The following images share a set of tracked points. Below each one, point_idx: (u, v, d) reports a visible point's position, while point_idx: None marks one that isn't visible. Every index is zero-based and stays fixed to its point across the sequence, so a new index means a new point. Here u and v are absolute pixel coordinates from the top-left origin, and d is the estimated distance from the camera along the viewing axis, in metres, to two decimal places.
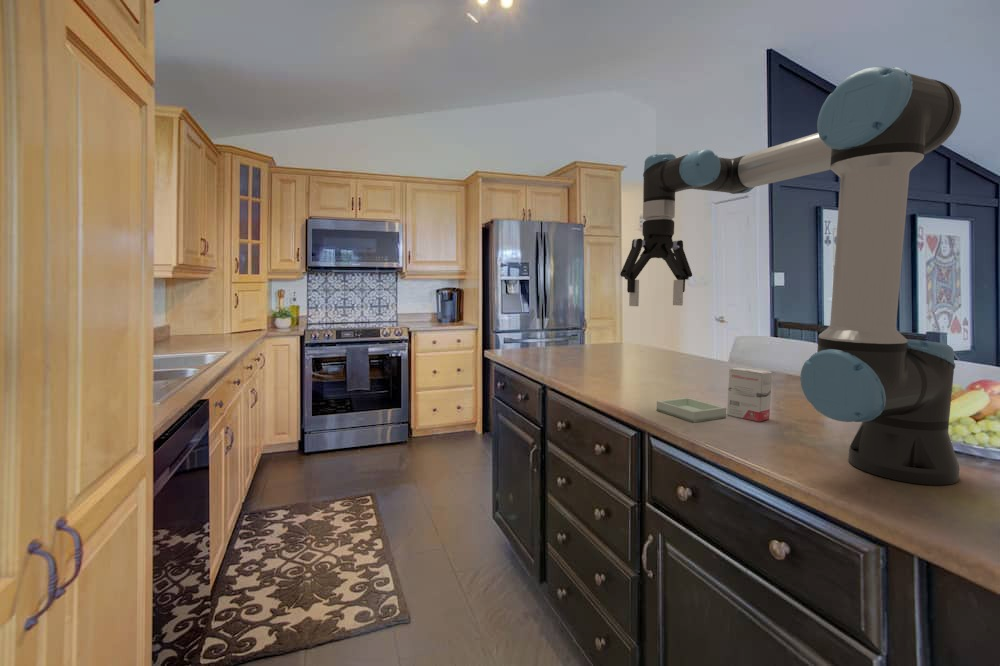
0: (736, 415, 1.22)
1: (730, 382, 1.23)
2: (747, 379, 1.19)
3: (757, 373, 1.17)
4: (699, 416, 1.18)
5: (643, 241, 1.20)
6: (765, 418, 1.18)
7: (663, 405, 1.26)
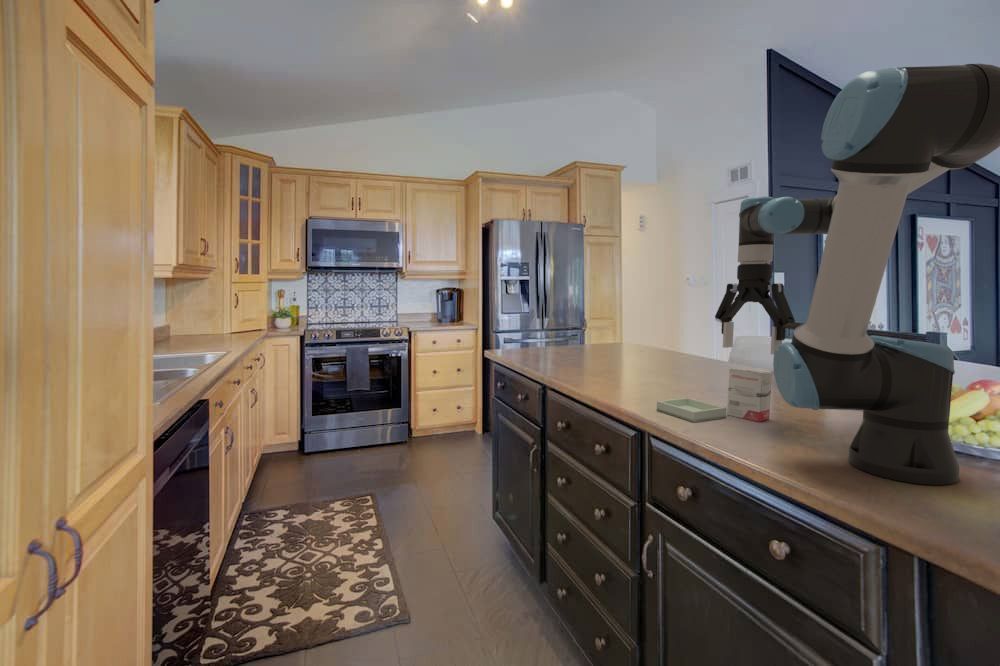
0: (736, 415, 1.22)
1: (730, 382, 1.23)
2: (747, 379, 1.19)
3: (757, 373, 1.17)
4: (699, 416, 1.18)
5: (735, 286, 1.23)
6: (765, 418, 1.18)
7: (663, 405, 1.26)
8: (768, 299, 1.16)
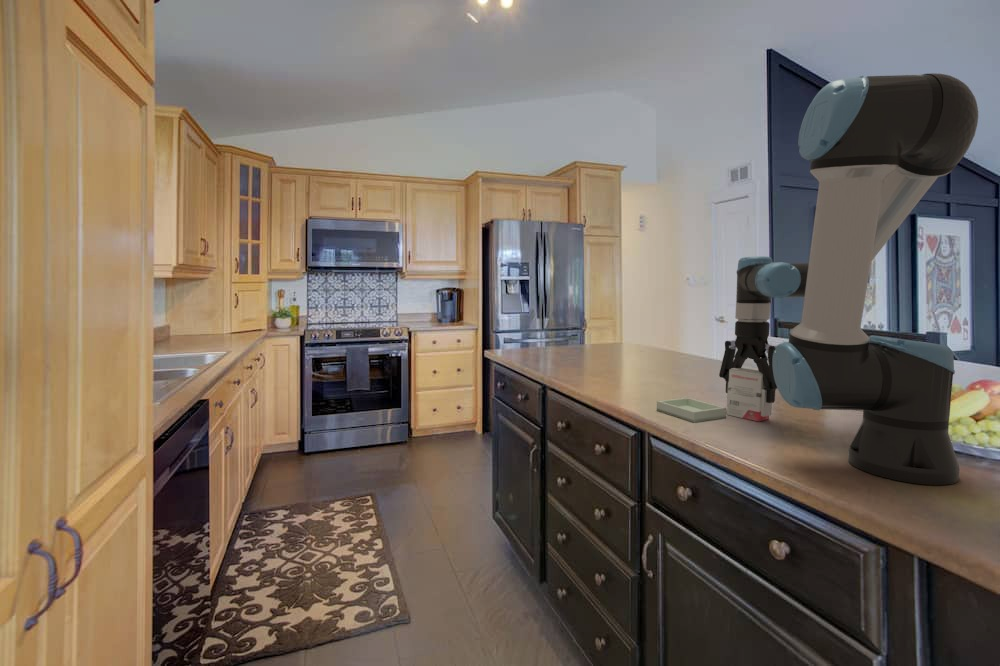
0: (736, 415, 1.22)
1: (730, 382, 1.23)
2: (746, 379, 1.20)
3: (757, 373, 1.17)
4: (699, 416, 1.18)
5: (733, 342, 1.25)
6: (765, 418, 1.18)
7: (663, 405, 1.26)
8: (763, 359, 1.18)
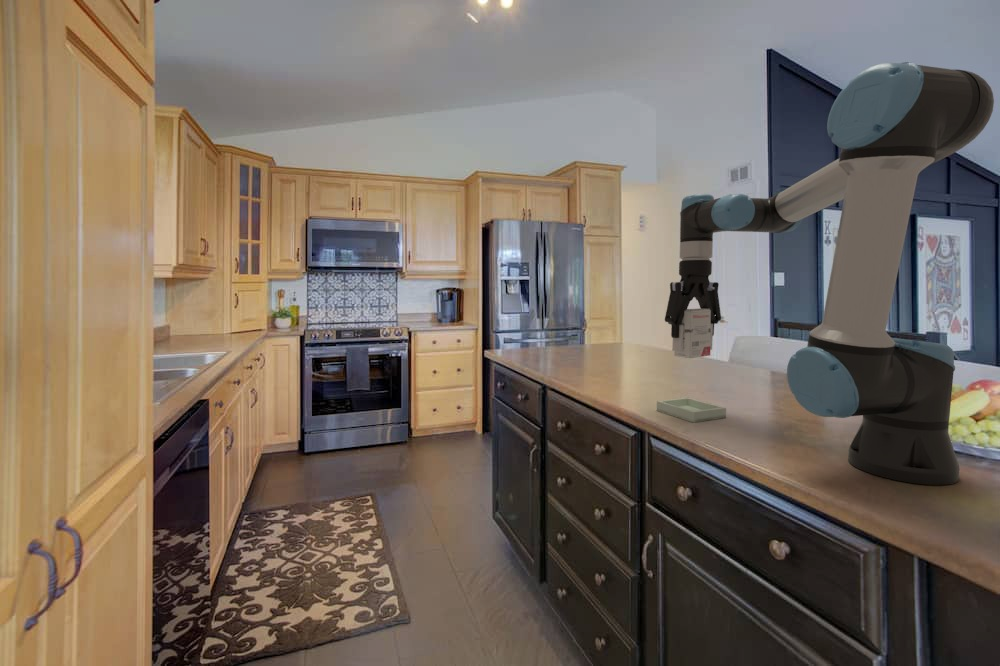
0: (696, 355, 1.21)
1: (691, 323, 1.19)
2: (702, 317, 1.21)
3: (708, 309, 1.22)
4: (699, 416, 1.18)
5: (681, 283, 1.19)
6: None
7: (663, 405, 1.26)
8: None
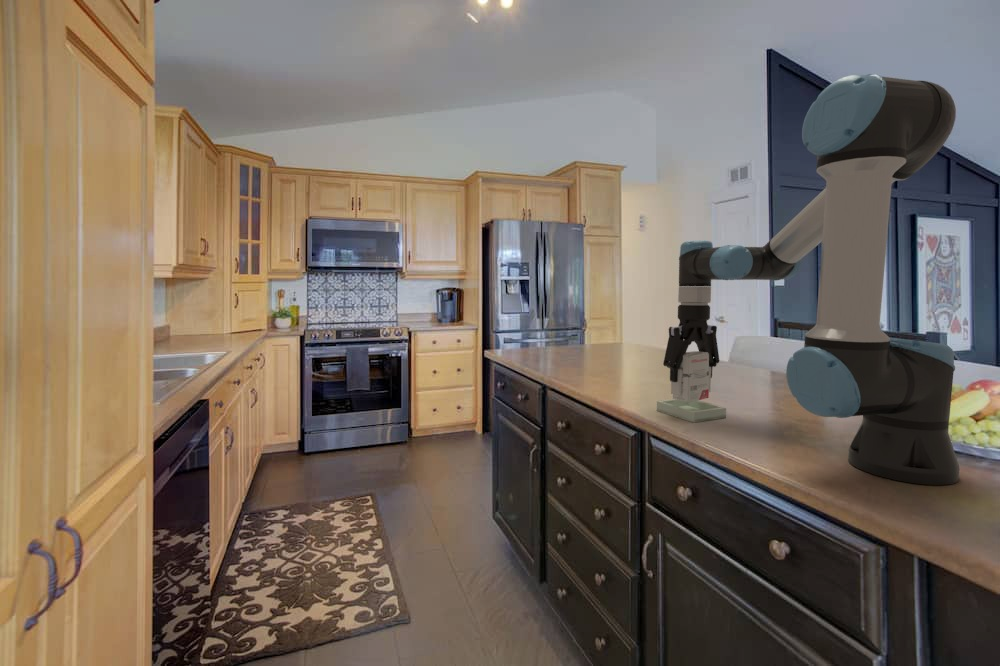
0: (695, 399, 1.22)
1: (690, 368, 1.20)
2: (700, 361, 1.22)
3: (706, 353, 1.23)
4: (699, 416, 1.18)
5: (680, 328, 1.20)
6: None
7: (663, 405, 1.26)
8: None
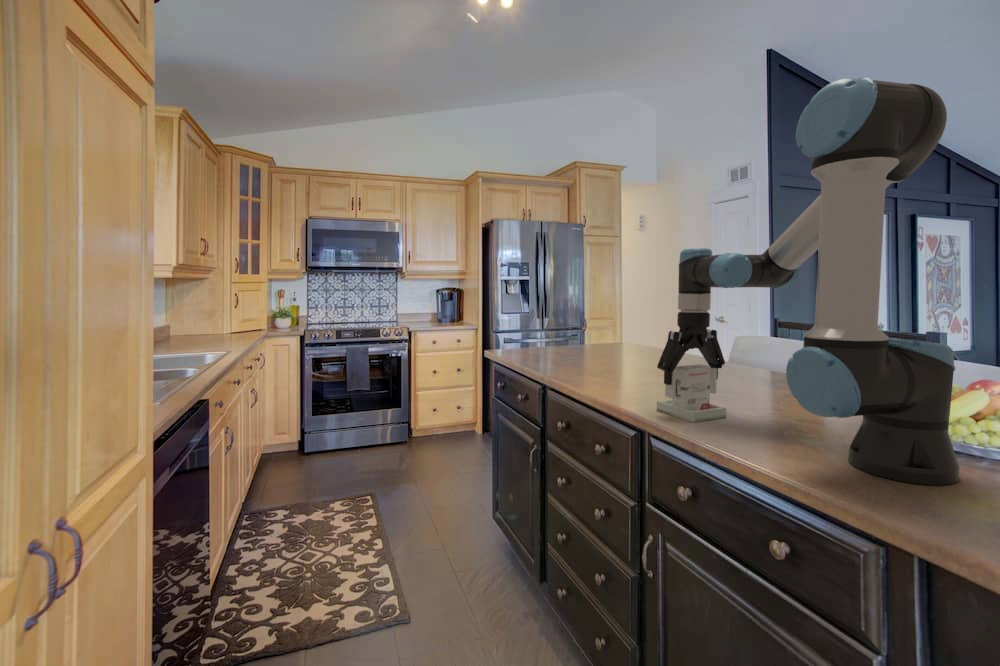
0: None
1: (687, 382, 1.20)
2: (700, 374, 1.22)
3: (706, 367, 1.23)
4: (699, 416, 1.18)
5: (680, 333, 1.21)
6: None
7: (663, 405, 1.26)
8: None
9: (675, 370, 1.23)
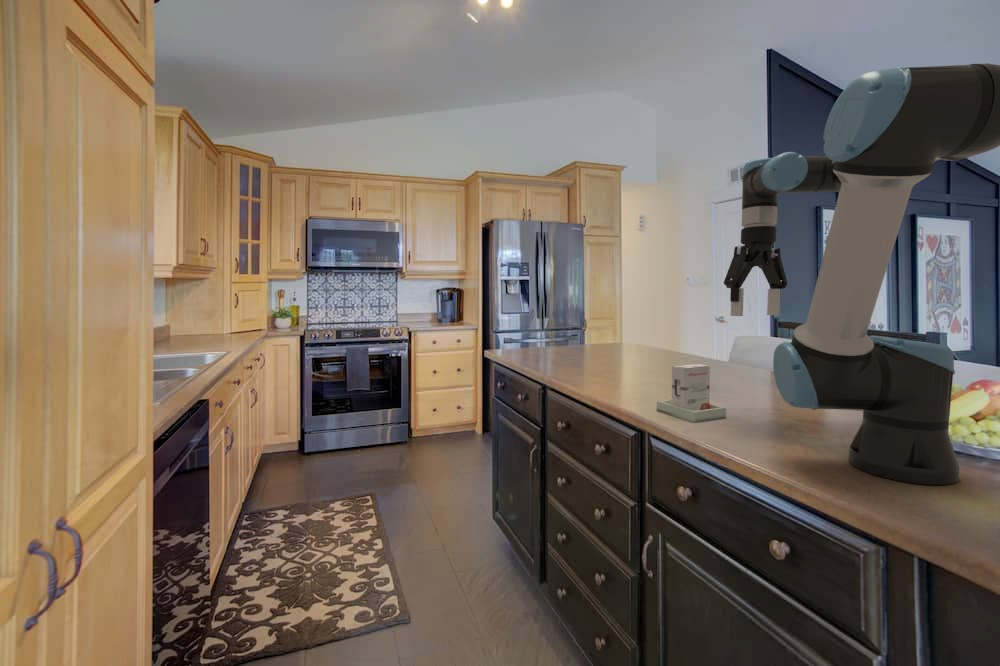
0: None
1: (687, 381, 1.20)
2: (699, 374, 1.22)
3: (706, 366, 1.23)
4: (699, 416, 1.18)
5: (746, 248, 1.15)
6: None
7: (663, 405, 1.26)
8: None
9: (675, 370, 1.23)
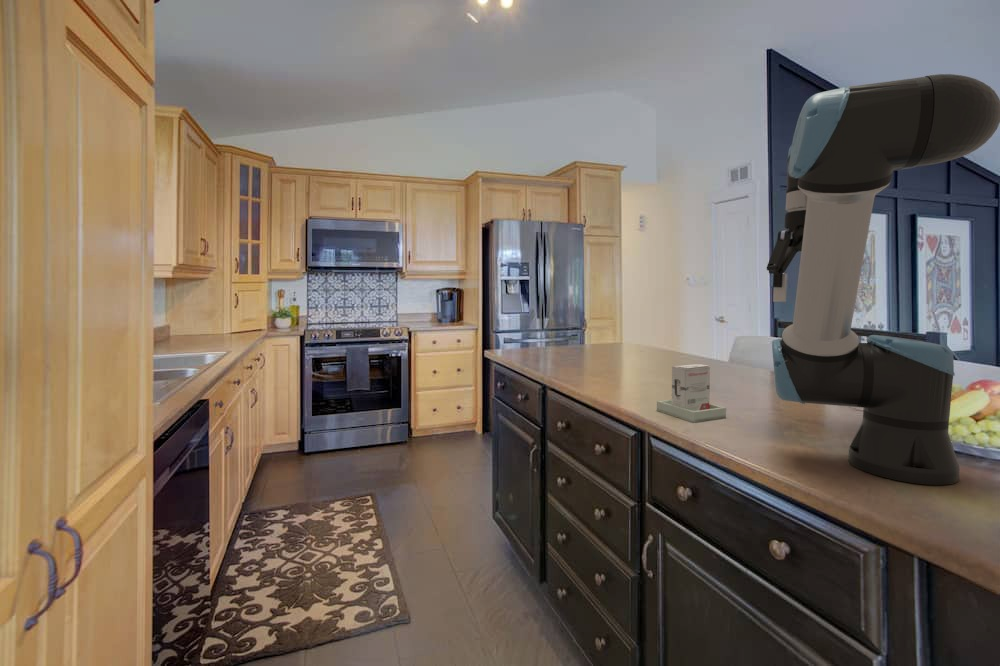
0: None
1: (687, 381, 1.20)
2: (699, 374, 1.22)
3: (706, 366, 1.23)
4: (699, 416, 1.18)
5: (790, 233, 1.13)
6: None
7: (663, 405, 1.26)
8: None
9: (675, 370, 1.23)
